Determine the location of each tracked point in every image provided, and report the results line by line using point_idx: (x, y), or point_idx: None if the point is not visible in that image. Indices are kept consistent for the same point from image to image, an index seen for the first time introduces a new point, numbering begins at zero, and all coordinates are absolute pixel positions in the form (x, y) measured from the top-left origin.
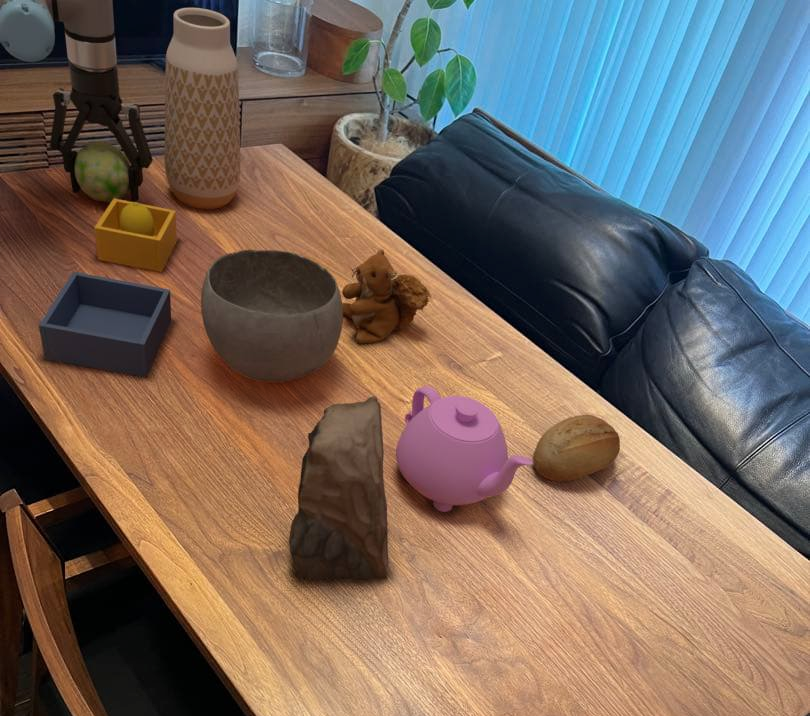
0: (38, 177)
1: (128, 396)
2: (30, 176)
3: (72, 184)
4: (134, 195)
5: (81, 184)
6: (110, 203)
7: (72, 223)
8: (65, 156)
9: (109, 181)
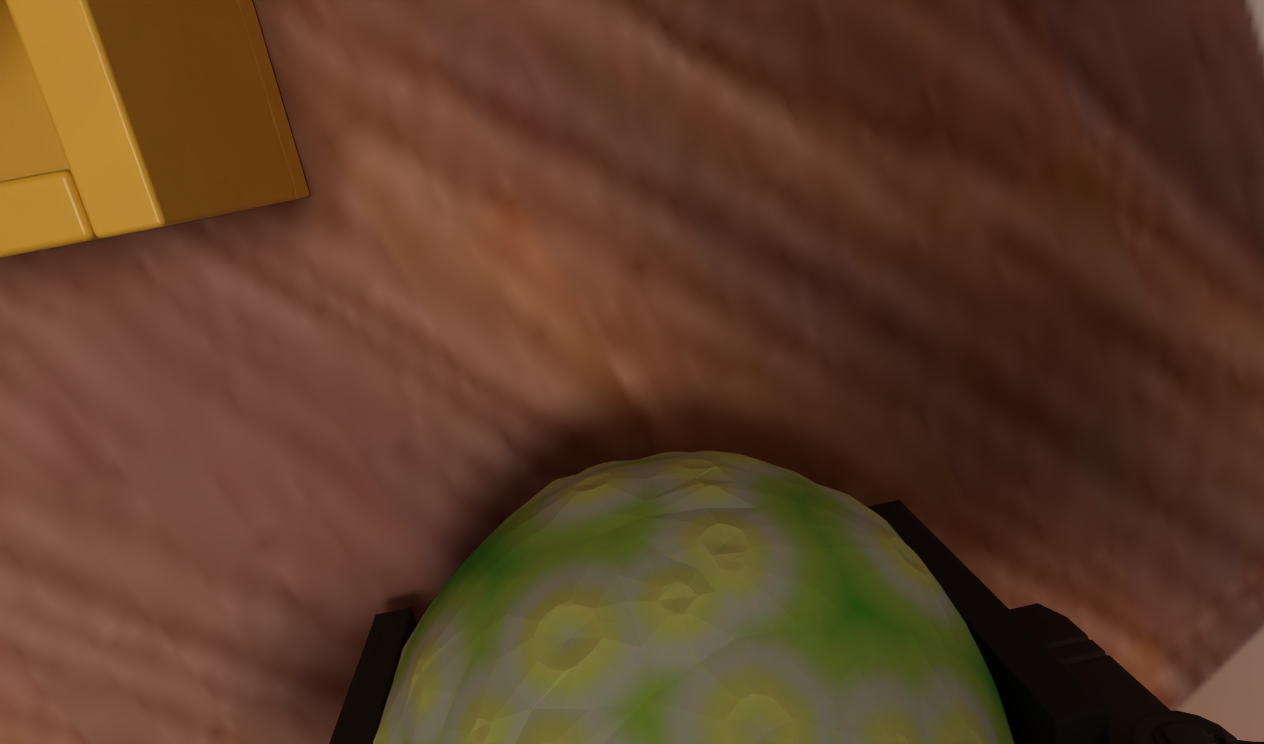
0: (1204, 582)
1: None
2: (1257, 563)
3: (924, 535)
4: (359, 676)
5: (807, 481)
6: (92, 38)
7: (695, 82)
8: (1137, 719)
9: (480, 592)
